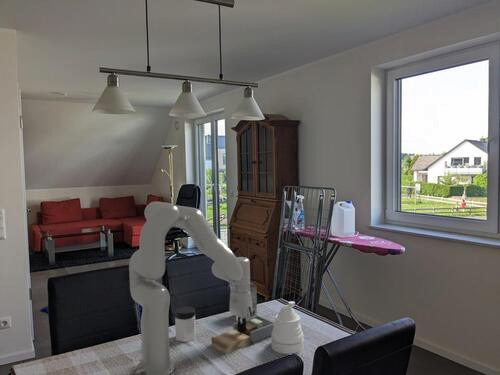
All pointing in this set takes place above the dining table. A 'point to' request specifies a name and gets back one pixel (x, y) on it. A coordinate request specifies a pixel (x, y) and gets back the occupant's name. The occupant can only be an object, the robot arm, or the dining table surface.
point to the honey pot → (287, 331)
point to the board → (230, 341)
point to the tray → (259, 330)
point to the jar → (185, 324)
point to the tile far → (257, 322)
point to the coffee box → (253, 298)
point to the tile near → (250, 328)
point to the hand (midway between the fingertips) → (241, 331)
